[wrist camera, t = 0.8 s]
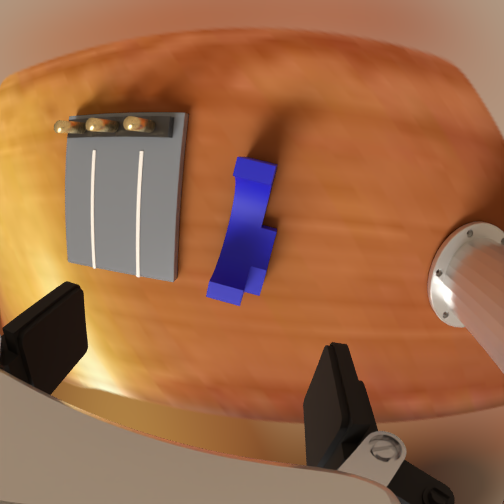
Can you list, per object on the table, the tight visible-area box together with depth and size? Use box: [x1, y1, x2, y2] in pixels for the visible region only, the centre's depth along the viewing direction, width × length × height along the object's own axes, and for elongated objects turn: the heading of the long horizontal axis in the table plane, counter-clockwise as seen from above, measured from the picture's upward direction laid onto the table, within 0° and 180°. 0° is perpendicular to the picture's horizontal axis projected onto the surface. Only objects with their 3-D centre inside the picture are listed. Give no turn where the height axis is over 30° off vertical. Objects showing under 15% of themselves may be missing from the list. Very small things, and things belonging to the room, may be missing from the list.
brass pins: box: [54, 116, 174, 138], centre depth 25 cm, size 12×2×5 cm, turn 84°
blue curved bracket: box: [206, 157, 277, 306], centre depth 28 cm, size 12×4×6 cm, turn 166°
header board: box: [65, 112, 189, 282], centre depth 30 cm, size 14×17×1 cm
